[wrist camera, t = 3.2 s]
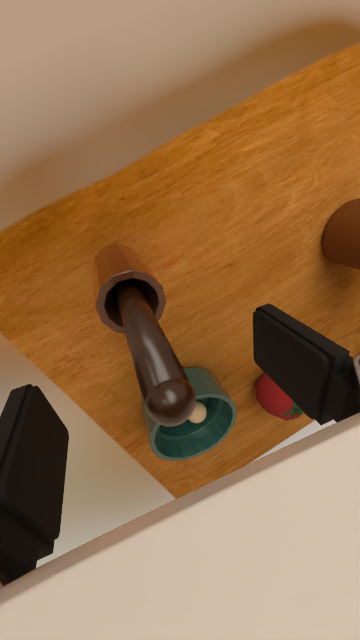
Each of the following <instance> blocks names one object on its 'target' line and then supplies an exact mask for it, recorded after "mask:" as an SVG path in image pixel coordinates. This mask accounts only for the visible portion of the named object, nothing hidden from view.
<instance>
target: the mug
mask: <svg viewBox="0 0 360 640" xmlns="http://www.w3.org/2000/svg"><path fill="white" fill-rule="evenodd" d="M322 246H323V251H324V253H325V255H326V257H327V258H328V259H330V260H331V261H333V262H336V263H339V264H342V265H346V266H349V267H353V268H356V269H359V270H360V199H355V200H351V201H349V202H347V203H346V204H344V205H342V206H341V207H340V208H339V209H338V210H337V211H336V212H335V213H334V214H333V216H332V217H331V219H330V220H329V222H328V224H327V226H326V228H325V231H324V235H323V241H322Z"/></svg>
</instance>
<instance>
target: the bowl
mask: <svg viewBox="0 0 360 640" xmlns="http://www.w3.org/2000/svg"><path fill="white" fill-rule="evenodd" d="M183 370H184V371H185V373H186V375H187V377H188V379H189V381H190V383H191V384H192V386H193V389H194V392H195V397H196V400H197V401H200V402H202V403H203V404H204V405H205V407H206V410H207V414H206V417H205V419H204V420H203V421H202V422H200V423H193V422H191V421H190V420H189V419H187V420H186V421H185V422H183V423H182V424H180V425H177V426H171V427H167V426H163V425H160V424H158V423H156V422H155V421H153V420H152V419H151V417H150V416H149V415H148V413H147V411H146V408H145V404H144V401H143V404H142V415H143V419H144V423H145V427H146V431H147V435H148V439H149V443H150V446H151V449H152V451H153V453H154V454H156V455H157V456H158V457H159V458H161V459H165V460H169V461H182V460H186V459H190V458H194V457H197V456H199V455H201V454H203V453H205V452H208V451H209V450H210V449H212V448H213V447H215V446H216V445H218V444H219V443H220V442H221V441H222V440H223V439H224V438H225V437H226V436H227V435H228V433H229V432H230V430H231V429H232V427H233V426H234V423H235V420H236V417H237V413H236V406H235V404H234V403H233V401H232V400H231V398H230V397H229V395H228V394H227V392H226V391H225V389H224V388H223V387H222V385H221V384H220V382H219V381H218V379H217V378H216V376H215V375H214V374H213V373H211V372H210V371H208V370H206V369H203V368H197V367H190V368H183Z"/></svg>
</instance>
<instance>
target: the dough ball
mask: <svg viewBox="0 0 360 640" xmlns="http://www.w3.org/2000/svg"><path fill="white" fill-rule="evenodd" d="M206 414H207V410H206V407H205V405H204V404H203V403H202V402H200V401H197V400H196V402H195V407H194V410H193V412H192V414H191V416H190V417H189V418H188V419H189V420H190V421H191V422H193V423H200V422H202V421H203V420H204V419H205V417H206Z"/></svg>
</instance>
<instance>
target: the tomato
mask: <svg viewBox="0 0 360 640" xmlns="http://www.w3.org/2000/svg"><path fill="white" fill-rule="evenodd" d="M255 389H256V398H257V400H258V401H259V403H260V405H261V406H262V408H264V409H265V410H266V411H267V412H268V413H270V414H272V415H274V416H277V417H279V418H281V419H284V420H286V421H287V420H290V419H295V418H299V416H300V415H302V414H303V413H302V412H303V411H302V410H301V409H300V408H299V407H298V406H297V405H296V404H295V403H294V402H293V400H292V399H291V398H290V397H289V396H288V395H287V394H286V393H285V392H284V391H283V390H282V389H281V388H280V387H279V386H278V385H277V384H276V383H275V382H274V381H273V380H272V379H271V378H270V377H269V376H268V375H267V374H266V373H265V374H264V375H263V376H262V377H261V378H260V379H258V381H257V383H256V386H255Z"/></svg>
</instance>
